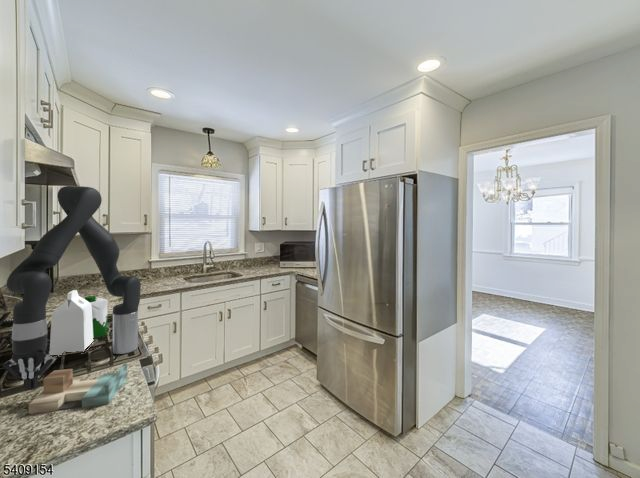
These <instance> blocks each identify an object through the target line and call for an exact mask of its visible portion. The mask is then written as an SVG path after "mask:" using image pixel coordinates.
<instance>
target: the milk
mask: <svg viewBox="0 0 640 478" xmlns="http://www.w3.org/2000/svg"><path fill="white" fill-rule="evenodd" d="M50 321H51V322H50V337H49V339H50V340H49V351H48V352H49V354H48V355H58V357H60V356H59V355H62V353H63V352H64V351H66V352H76V351H83V352H84V350H85V349H86V348H87V347H88V346H89V345H90V344H91V343H92V342H93V341H94V339H93V321H92V305H91V303H90V302H88V301H87V300H85V297H83V296H80V295H79V292H78V289H73V290H71V291H69V292H68V293H67V296H66V300H65V301H64V302H63V303H62V304H60V305H59V306H58V307H57V308H55V309H54V311H52V314H51V320H50ZM93 343H94V342H93ZM93 343H92V344H93Z"/></svg>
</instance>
